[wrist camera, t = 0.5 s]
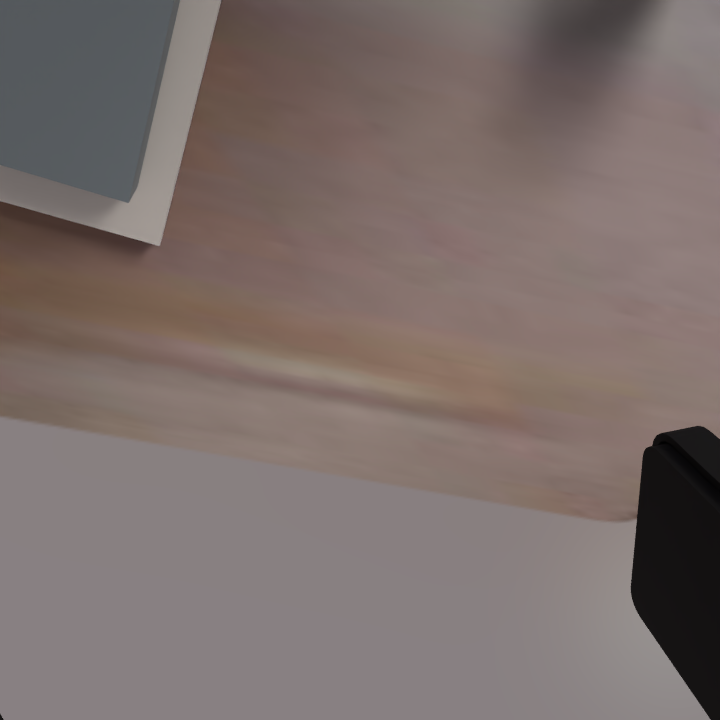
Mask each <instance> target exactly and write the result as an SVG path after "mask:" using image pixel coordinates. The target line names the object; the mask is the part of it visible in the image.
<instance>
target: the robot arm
mask: <svg viewBox="0 0 720 720" xmlns="http://www.w3.org/2000/svg"><path fill="white" fill-rule="evenodd" d="M631 595H632V600H633V603H634V606H635V608H636V610H637V612H638V614H639V616H640V617H641V619H642V620H643V622H644V623H645V625H646V626H647V628H648V629H649V630H650V632H651V633H652V635H653V636H654V638H655V639H656V641H657V642H658V644H659V645H660V646H661V648H662V649H663V651H664V652H665V654H666V655H667V656H668V658H669V660H670V661H671V662H672V664H673V665H674V667H675V668H676V670H677V671H678V672H679V674H680V676H681V677H682V678H683V680H684V681H685V682H686V684H687V686H688V687H689V689H690V690H691V692H692V693H693V694H694V696H695V697H696V699H697V700H698V702H699V703H700V704H701V706H702V708H703V709H704V710H705V712H706V713H707V715H708V716H709V718H710V719H711V720H720V439H719V438H717V437H716V436H715V435H714V434H713V433H712V432H710V431H709V430H708V429H706V428H704V427H701V426H695V427H690V428H685V429H680V430H675V431H670V432H665V433H661V434H659V435H657V436H656V437H655V439H654V441H653V445H652V446H651V447H648V448H646V449H645V451H644V454H643V461H642V472H641V483H640V494H639V504H638V515H637V526H636V538H635V548H634V558H633V569H632V580H631ZM0 720H3V718H2V716H1V715H0Z"/></svg>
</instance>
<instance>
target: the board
mask: <svg viewBox="0 0 720 720" xmlns="http://www.w3.org/2000/svg"><path fill="white" fill-rule="evenodd" d="M221 1H222V0H180V3H179V7H178V12H177V16H176V21H175V25H174V29H173V34H172V38H171V42H170V47H169V51H168V56H167V60H166V64H165V69H164V73H163V78H162V82H161V86H160V91H159V95H158V99H157V104H156V108H155V113H154V117H153V121H152V126H151V130H150V135H149V139H148V143H147V148H146V152H145V156H144V161H143V165H142V170H141V174H140V178H139V183H138V187H137V189H136V191H135V193H134V194H133V196H132V198H131V200H130V202H129V203H126V202H123V201H120V200H116V199H113V198H109V197H106V196H103V195H99V194H96V193H93V192H89V191H86V190H83V189H79V188H76V187H73V186H69V185H66V184H62V183H59V182H56V181H52V180H49V179H46V178H42V177H39V176H36V175H32V174H29V173H26V172H22V171H19V170H15V169H12V168H9V167H5V166H2V165H0V201H2V202H5V203H9V204H12V205H16V206H19V207H23V208H26V209H30V210H33V211H37V212H41V213H44V214H48V215H51V216H55V217H58V218H62V219H65V220H69V221H72V222H76V223H79V224H83V225H86V226H90V227H94V228H97V229H101V230H104V231H108V232H111V233H115V234H118V235H122V236H125V237H129V238H132V239H136V240H139V241H143V242H146V243H150V244H154V245H157V246H160V243H161V240H162V237H163V234H164V230H165V226H166V222H167V217H168V213H169V209H170V205H171V201H172V197H173V193H174V189H175V185H176V181H177V177H178V173H179V169H180V165H181V161H182V157H183V153H184V149H185V145H186V141H187V137H188V133H189V129H190V125H191V121H192V117H193V113H194V109H195V105H196V101H197V97H198V93H199V89H200V85H201V81H202V77H203V73H204V69H205V65H206V61H207V57H208V53H209V49H210V45H211V41H212V37H213V33H214V29H215V25H216V21H217V17H218V13H219V9H220V5H221Z"/></svg>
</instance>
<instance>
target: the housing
mask: <svg viewBox="0 0 720 720" xmlns="http://www.w3.org/2000/svg"><path fill="white" fill-rule="evenodd" d="M179 3H180V0H0V165H2V166H5V167H9V168H12V169H15V170H19V171H22V172H26V173H29V174H32V175H36V176H39V177H42V178H46V179H49V180H52V181H56V182H59V183H62V184H66V185H69V186H73V187H76V188H79V189H83V190H86V191H89V192H93V193H96V194H99V195H103V196H106V197H109V198H113V199H116V200H120V201H123V202H126V203H129V202H130V200H131V198H132V196H133V194H134V193H135V191H136V189H137V187H138V183H139V178H140V174H141V170H142V165H143V161H144V156H145V152H146V148H147V143H148V139H149V135H150V130H151V126H152V121H153V117H154V113H155V108H156V104H157V99H158V95H159V91H160V86H161V82H162V78H163V73H164V69H165V64H166V60H167V56H168V51H169V47H170V42H171V38H172V34H173V29H174V25H175V21H176V16H177V12H178V7H179Z"/></svg>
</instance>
